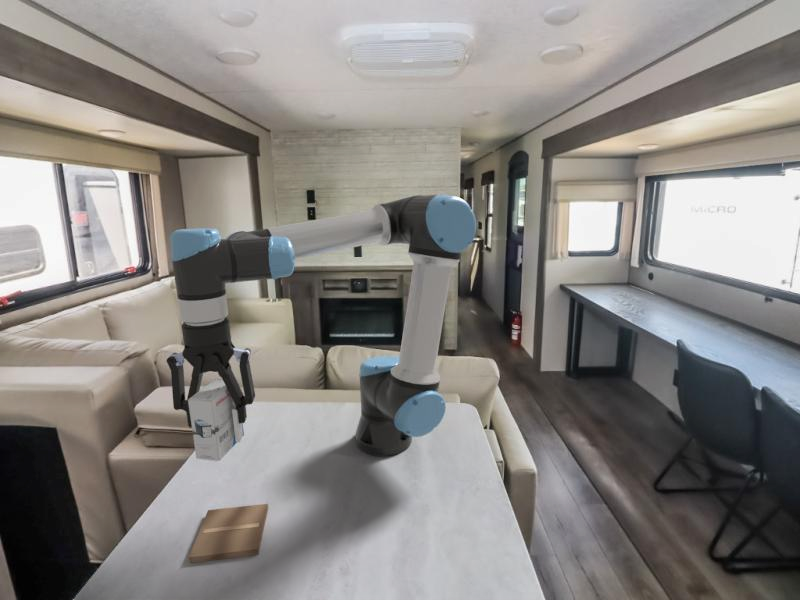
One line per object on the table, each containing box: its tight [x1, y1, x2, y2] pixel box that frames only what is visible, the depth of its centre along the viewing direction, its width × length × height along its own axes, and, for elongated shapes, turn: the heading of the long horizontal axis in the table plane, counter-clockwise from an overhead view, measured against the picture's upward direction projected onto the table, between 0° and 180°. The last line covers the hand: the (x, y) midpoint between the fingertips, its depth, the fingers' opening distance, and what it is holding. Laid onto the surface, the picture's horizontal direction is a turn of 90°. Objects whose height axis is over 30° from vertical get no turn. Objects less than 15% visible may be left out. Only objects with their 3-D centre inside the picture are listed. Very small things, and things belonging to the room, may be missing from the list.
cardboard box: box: [188, 503, 269, 564], centre depth 83 cm, size 12×12×1 cm
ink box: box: [188, 378, 245, 462], centre depth 78 cm, size 9×5×12 cm, turn 170°
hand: (220, 439), depth 79 cm, fingers closed on ink box, 6 cm apart
